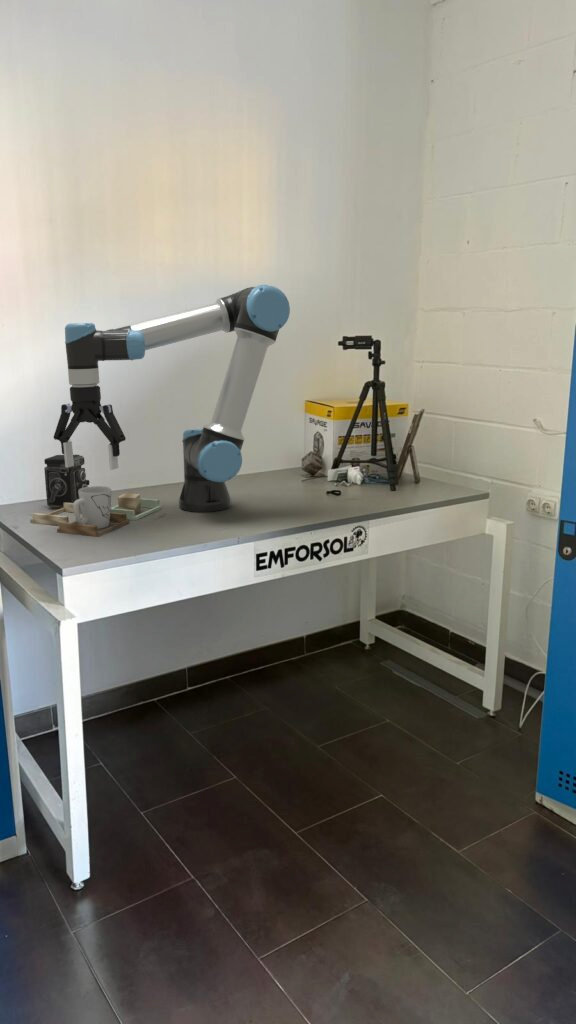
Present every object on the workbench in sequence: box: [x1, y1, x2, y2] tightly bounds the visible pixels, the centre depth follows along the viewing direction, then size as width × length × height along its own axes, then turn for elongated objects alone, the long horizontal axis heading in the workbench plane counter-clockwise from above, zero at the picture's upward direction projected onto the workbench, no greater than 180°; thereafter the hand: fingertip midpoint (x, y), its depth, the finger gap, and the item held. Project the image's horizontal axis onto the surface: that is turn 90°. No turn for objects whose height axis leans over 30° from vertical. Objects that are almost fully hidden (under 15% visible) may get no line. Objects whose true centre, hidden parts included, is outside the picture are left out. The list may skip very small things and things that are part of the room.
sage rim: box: [111, 497, 163, 521], centre depth 221 cm, size 13×15×2 cm
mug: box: [73, 485, 112, 530], centre depth 204 cm, size 11×8×10 cm
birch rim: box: [30, 502, 83, 526], centre depth 214 cm, size 13×15×2 cm
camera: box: [44, 454, 90, 509], centre depth 227 cm, size 10×11×15 cm
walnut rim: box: [56, 512, 130, 537], centre depth 204 cm, size 13×15×2 cm
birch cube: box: [117, 493, 142, 516], centre depth 221 cm, size 5×5×5 cm
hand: (91, 467), depth 201 cm, fingers open, 13 cm apart
